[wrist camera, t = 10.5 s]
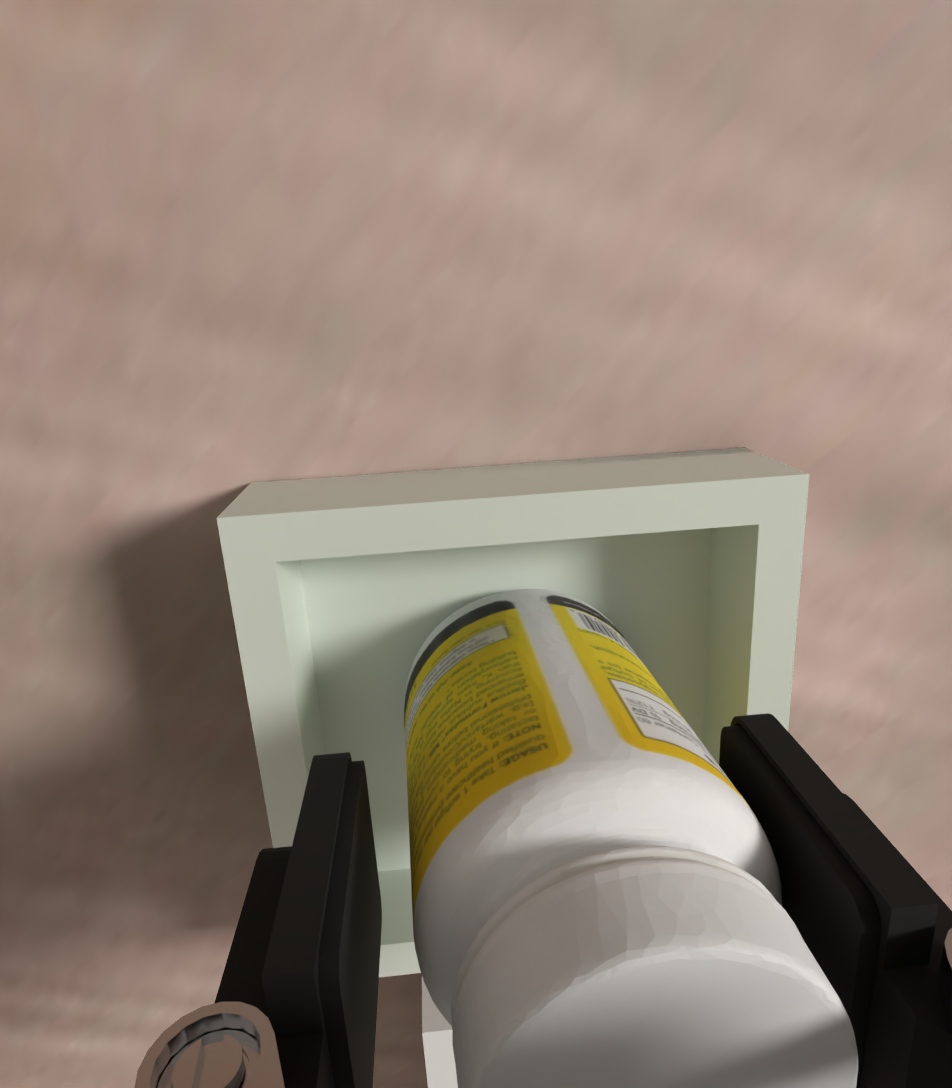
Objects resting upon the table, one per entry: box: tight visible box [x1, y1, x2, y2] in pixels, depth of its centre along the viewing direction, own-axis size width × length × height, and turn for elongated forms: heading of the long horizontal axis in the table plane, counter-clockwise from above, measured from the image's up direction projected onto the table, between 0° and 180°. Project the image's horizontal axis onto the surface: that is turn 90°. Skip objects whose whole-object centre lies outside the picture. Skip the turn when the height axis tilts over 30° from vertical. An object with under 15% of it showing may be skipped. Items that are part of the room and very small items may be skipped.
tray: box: [217, 447, 809, 977], centre depth 14 cm, size 10×10×2 cm
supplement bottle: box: [404, 589, 858, 1088], centre depth 11 cm, size 5×5×8 cm
